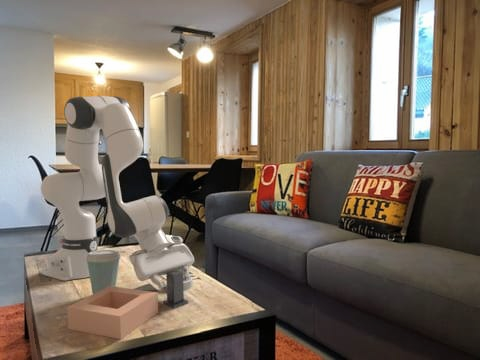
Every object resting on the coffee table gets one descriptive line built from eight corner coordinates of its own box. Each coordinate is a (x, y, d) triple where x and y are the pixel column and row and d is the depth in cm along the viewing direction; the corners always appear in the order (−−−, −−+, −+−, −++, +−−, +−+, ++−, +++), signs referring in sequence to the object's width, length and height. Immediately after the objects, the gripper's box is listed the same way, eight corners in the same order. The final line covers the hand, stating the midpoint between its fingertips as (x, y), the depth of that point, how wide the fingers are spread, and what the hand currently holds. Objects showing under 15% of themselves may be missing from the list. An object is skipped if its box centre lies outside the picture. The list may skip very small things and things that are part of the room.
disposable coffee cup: (86, 292, 132) (84, 248, 130) (120, 288, 136) (118, 245, 135) (88, 304, 122) (86, 256, 121) (124, 298, 126) (122, 252, 125)
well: (68, 328, 106) (67, 307, 105) (110, 304, 122) (109, 285, 121) (121, 339, 100) (120, 316, 99) (157, 312, 116) (157, 292, 115)
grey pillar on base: (163, 304, 122) (162, 272, 121) (176, 299, 126) (176, 268, 125) (173, 308, 118) (173, 276, 117) (187, 303, 122) (187, 271, 121)
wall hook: (168, 255, 142) (195, 256, 140) (169, 281, 143) (195, 282, 141) (159, 262, 134) (187, 263, 132) (159, 289, 134) (187, 291, 132)
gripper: (131, 248, 118) (151, 287, 112) (185, 236, 133) (205, 270, 127) (123, 259, 121) (142, 299, 115) (177, 246, 136) (196, 281, 130)
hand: (175, 283), depth 121 cm, fingers open, 8 cm apart
